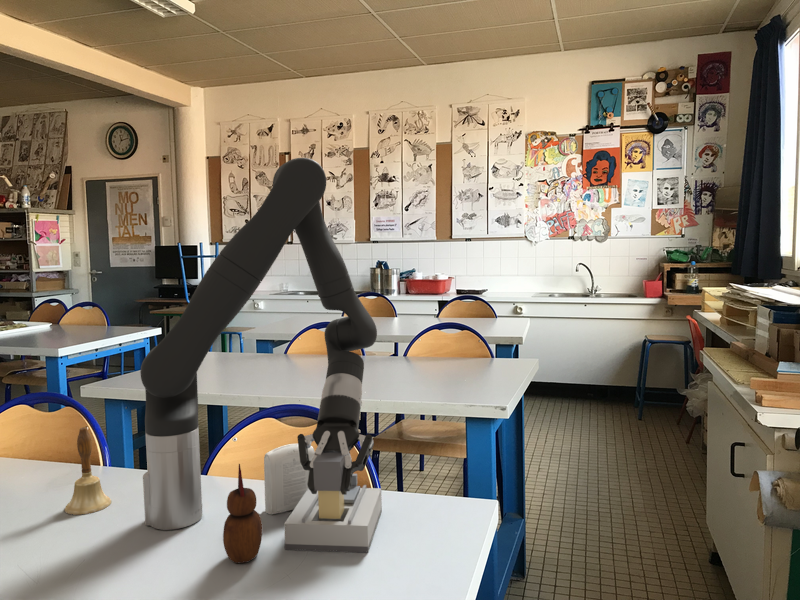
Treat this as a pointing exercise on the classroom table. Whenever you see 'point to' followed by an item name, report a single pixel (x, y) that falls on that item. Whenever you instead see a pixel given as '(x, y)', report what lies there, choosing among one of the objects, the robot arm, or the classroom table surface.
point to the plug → (329, 484)
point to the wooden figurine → (242, 525)
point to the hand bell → (86, 482)
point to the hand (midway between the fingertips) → (328, 492)
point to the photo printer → (284, 478)
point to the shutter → (352, 491)
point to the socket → (334, 524)
